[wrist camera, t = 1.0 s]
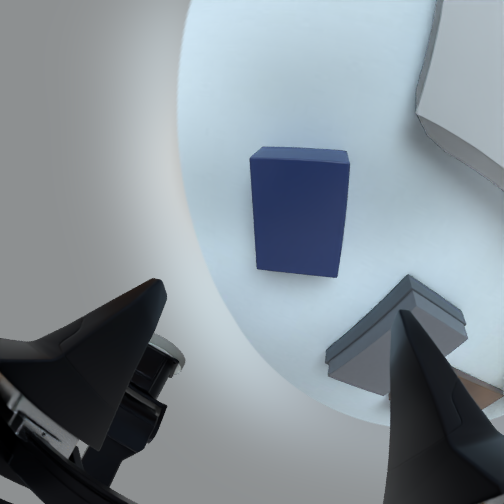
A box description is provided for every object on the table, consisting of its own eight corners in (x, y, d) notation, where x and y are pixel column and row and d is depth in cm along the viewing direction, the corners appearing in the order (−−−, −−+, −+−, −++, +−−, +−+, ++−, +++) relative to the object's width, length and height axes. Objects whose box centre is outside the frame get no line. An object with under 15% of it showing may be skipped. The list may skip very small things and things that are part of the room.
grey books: (381, 373, 24) (382, 398, 22) (326, 349, 24) (322, 378, 21) (462, 311, 17) (471, 339, 15) (407, 273, 17) (416, 304, 15)
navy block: (337, 252, 18) (337, 278, 16) (266, 245, 19) (256, 269, 17) (346, 150, 14) (350, 162, 12) (261, 146, 15) (249, 157, 13)
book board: (464, 414, 27) (464, 419, 26) (388, 393, 26) (388, 400, 25) (502, 390, 22) (503, 395, 21) (439, 360, 21) (441, 368, 20)
